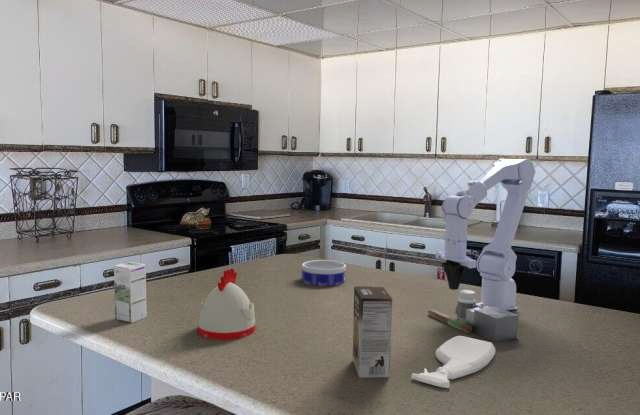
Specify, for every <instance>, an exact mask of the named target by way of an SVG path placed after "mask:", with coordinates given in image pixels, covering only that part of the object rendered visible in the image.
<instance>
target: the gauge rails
mask: <svg viewBox="0 0 640 415" xmlns="http://www.w3.org/2000/svg"><path fill="white" fill-rule="evenodd" d="M427 310H428V311H427V313H428V316H429V317H432V318H434V319H436V320H438V321H440V322H442V323H445V324H447V325H448V326H451V327H454V328H455V329H457V330H459V331H462V332H464V333H466V334H470V333H472V332H473V331H472V326H470V325H467V324H465V323H463V322H461V321H458V320H457V318H454V317H452V316H449V315H448V314H446V313H445V314H444V313H442V312H441V311H438V310H436V309H433V308H432V309H427ZM455 312H456V313H457V305H456V306H455Z"/></svg>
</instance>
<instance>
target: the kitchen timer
mask: <svg viewBox="0 0 640 415" xmlns="http://www.w3.org/2000/svg"><path fill="white" fill-rule="evenodd" d="M237 276H238V272H235V268H230V269H226V270H223V276H220V277H219V278H220V282H217V283H216V284H217V286H216V287H214V288H213V289H212V290H211V291H210V293H209V294H207V297H206V298H205V301H204V302H201V303H200V307H199V309H200V310H199V311H200V314H199V318H198V321H197V322H198V323H197V332H198V334H199V335H200V336H202V337H204V338H207V339H212V340H224V341H225V340H235V339H241V338H244V337H249V336H250V335H252V334H254V332H255V331H256V316H255V305H254V302H251V301H250V299H249V297H248V296H247V294H246V293H245V292H244V290H243V289H242V288H241V287H239V286H238V285H237V284H236V281H237Z"/></svg>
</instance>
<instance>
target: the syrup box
mask: <svg viewBox="0 0 640 415" xmlns="http://www.w3.org/2000/svg"><path fill="white" fill-rule="evenodd" d="M146 270H147V268H146V264H145V263H140V262H134V261H133V262H131V261H126V262H121V263H118V264H116V265H115V264H114V265H113V275H114V276H113V278H114V279H113V280H114V285H113V286H114V314H115V315H114V316H115V317H114V318H115V319H114V320H116V321H120V322H125V323H129V324H132V323H133V324H134V323H135V322H138V321H141V320H144V319H147V316H148V314H147V276H146V275H147V272H146Z"/></svg>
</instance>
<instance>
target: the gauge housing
mask: <svg viewBox="0 0 640 415" xmlns="http://www.w3.org/2000/svg"><path fill="white" fill-rule="evenodd" d="M518 327H519V314H517V313H513V312H511V311H510V310H503V309H501V308H498V307H490V308H483V309H475V310H474V329H473V331H472V332H473V333H475V335H479V336H481V337H483V338H485V339H487V340H490V341H492V342H494V343H498V342H504V341H509V340H514V339H515V340H516V339H518V333H519V331H518Z"/></svg>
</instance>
